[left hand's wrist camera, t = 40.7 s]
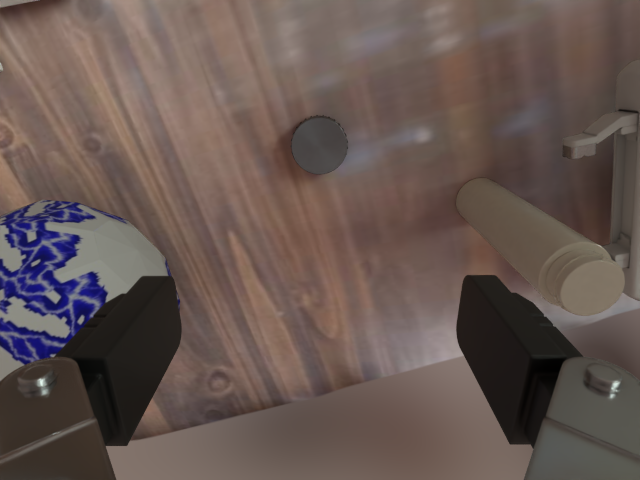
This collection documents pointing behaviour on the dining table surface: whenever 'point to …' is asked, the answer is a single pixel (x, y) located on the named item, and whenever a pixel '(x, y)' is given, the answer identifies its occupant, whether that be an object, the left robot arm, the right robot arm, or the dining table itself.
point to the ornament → (63, 274)
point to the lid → (319, 144)
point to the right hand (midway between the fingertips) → (566, 204)
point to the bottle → (542, 249)
